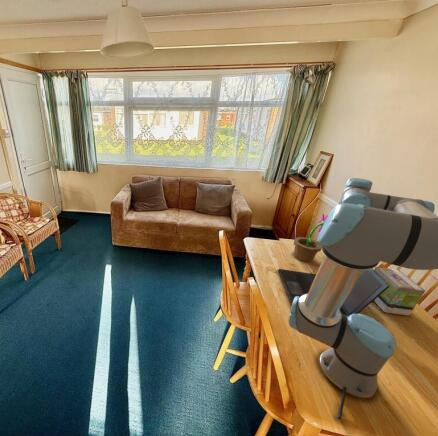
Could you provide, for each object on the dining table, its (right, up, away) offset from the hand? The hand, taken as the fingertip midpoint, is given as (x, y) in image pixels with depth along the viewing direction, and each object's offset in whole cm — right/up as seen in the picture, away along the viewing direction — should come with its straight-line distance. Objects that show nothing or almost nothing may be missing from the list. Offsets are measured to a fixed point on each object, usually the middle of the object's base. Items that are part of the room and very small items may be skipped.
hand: (326, 262), depth 104 cm
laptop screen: (+12, -8, +2) cm, 14 cm away
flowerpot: (+15, -4, +38) cm, 41 cm away
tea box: (+31, -20, +5) cm, 37 cm away
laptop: (-1, -17, +10) cm, 20 cm away
